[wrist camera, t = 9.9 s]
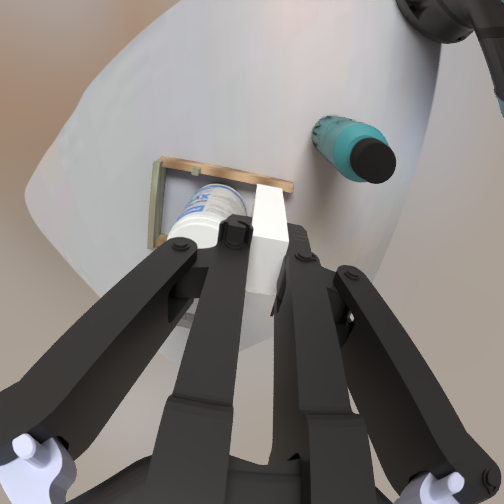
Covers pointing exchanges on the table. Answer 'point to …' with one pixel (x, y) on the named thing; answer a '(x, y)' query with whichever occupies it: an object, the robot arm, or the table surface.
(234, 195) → the supplement tub
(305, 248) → the robot arm
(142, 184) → the table surface
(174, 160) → the bay board
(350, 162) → the beverage bottle
